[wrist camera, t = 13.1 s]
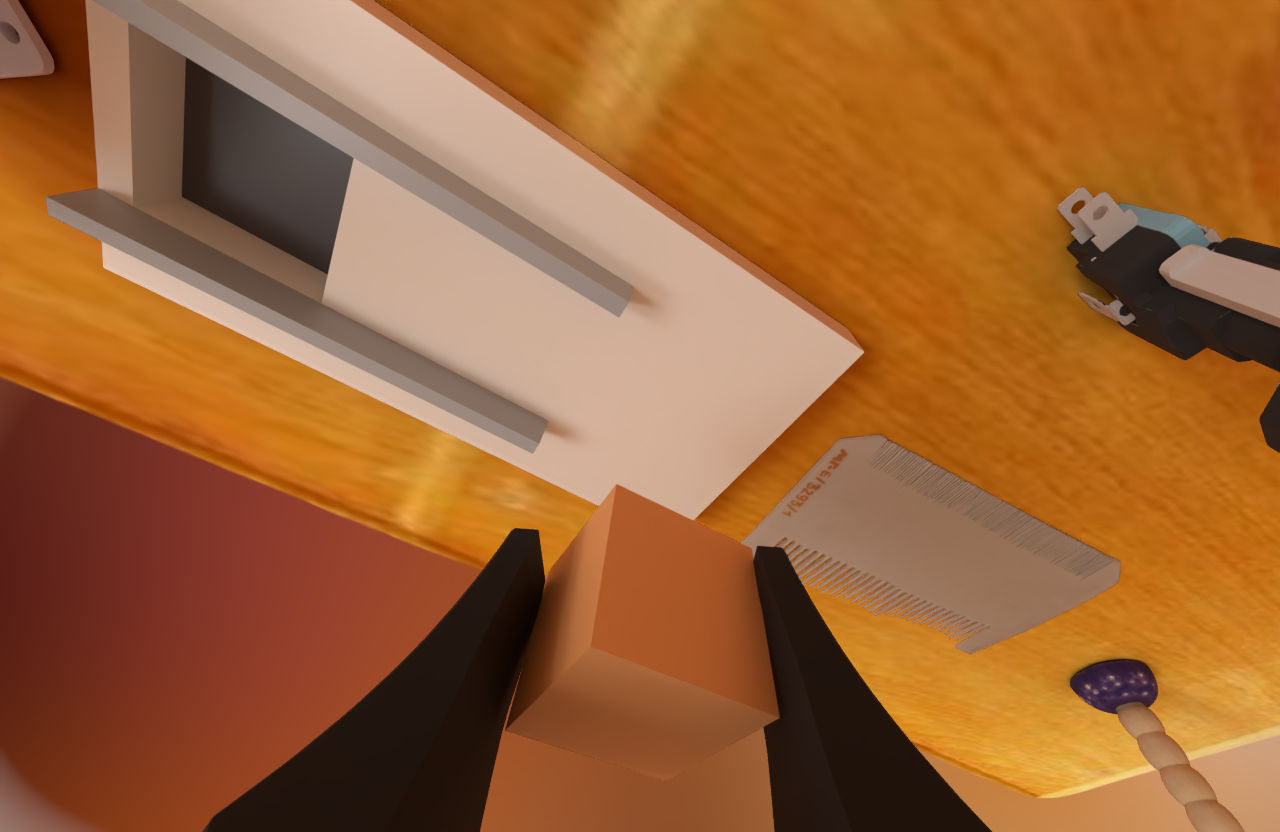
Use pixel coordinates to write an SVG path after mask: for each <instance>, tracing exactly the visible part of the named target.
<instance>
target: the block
mask: <svg viewBox="0 0 1280 832" xmlns="http://www.w3.org/2000/svg"><path fill="white" fill-rule="evenodd" d="M753 560H754V558H753V552H752V548H750V547H748V546H746V545H743V544H741V543H739V542H737V541H735V540H733V539H731V538H729V537H727V536H725V535H723V534H720V533H718V532H716V531H714V530H712V529H710V528H708V527H706V526H704V525H702V524H700V523H697V522H695V521H693V520H691V519H689V518H687V517H685V516H683V515H681V514H679V513H677V512H674V511H672V510H670V509H668V508H666V507H664V506H662V505H660V504H658V503H656V502H654V501H651V500H649V499H647V498H645V497H643V496H641V495H639V494H637V493H635V492H633V491H631V490H628V489H626V488H624V487H622V486H620V485H618V484H616V485H615V486H614V488H613V489H612V490H611V492H610V493H609V494H608V495H607V497H606V498H605V499H604V501H603V502H602V503H601V505H600V506H599V507H598V508H597V510H596V511H595V512H594V514H593V515H592V516H591V517H590V519H589V520H588V521H587V523H586V524H585V525H584V527H583V528H582V529H581V530H580V532H579V533H578V534H577V536H576V537H575V538H574V540H573V541H572V542H571V543H570V545H569V546H568V547H567V549H566V550H565V551H564V552H563V554H562V555H561V556H560V558H559V559H558V560H557V562H556V563H555V564H554V565H553V567H552V568H551V569H550V571H549V572H548V575H547V579H546V582H545V586H544V590H543V595H542V599H541V603H540V606H539V610H538V614H537V617H536V621H535V624H534V627H533V630H532V634H531V637H530V641H529V645H528V648H527V652H526V656H525V659H524V663H523V667H522V670H521V674H520V678H519V681H518V685H517V689H516V692H515V696H514V700H513V703H512V707H511V710H510V714H509V718H508V722H507V725H506V729H505V731H508V732H511V733H515V734H518V735H521V736H524V737H527V738H530V739H534V740H536V741H540V742H543V743H546V744H549V745H552V746H556V747H559V748H562V749H565V750H568V751H571V752H575V753H578V754H581V755H584V756H587V757H590V758H593V759H597V760H600V761H603V762H606V763H609V764H613V765H616V766H619V767H622V768H625V769H628V770H631V771H635V772H638V773H641V774H644V775H648V776H650V777H654V778H657V779H660V780H663V781H667V780H669V779H671V778H673V777H675V776H676V775H678V774H680V773H682V772H684V771H685V770H687V769H689V768H691V767H693V766H694V765H696V764H698V763H700V762H702V761H703V760H705V759H707V758H709V757H710V756H712V755H714V754H716V753H718V752H719V751H721V750H723V749H725V748H727V747H728V746H730V745H732V744H734V743H736V742H737V741H739V740H741V739H743V738H745V737H746V736H748V735H750V734H752V733H754V732H755V731H757V730H759V729H761V728H762V727H764V726H766V725H768V724H770V723H771V722H773V721H775V720H777V719H779V718H780V716H779V710H778V704H777V698H776V692H775V686H774V680H773V674H772V668H771V661H770V655H769V649H768V643H767V637H766V631H765V625H764V619H763V613H762V608H761V604H760V599H759V595H758V589H757V582H756V576H755V570H754V564H753Z"/></svg>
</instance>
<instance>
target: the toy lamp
mask: <svg viewBox="0 0 1280 832" xmlns="http://www.w3.org/2000/svg"><path fill="white" fill-rule="evenodd" d="M1070 686H1071V688H1072V689H1073V691H1074V692H1075V693H1076V694H1077V695H1078V696H1079V697H1080V698H1081V699H1082V700H1084V701H1085V702H1086V703H1088V704H1089V705H1091V706H1093V707H1094V708H1096V709H1098V710H1101V711H1104V712H1107V713H1113V714H1118V718H1119V720H1120V722H1121V724H1122V725H1123V727H1124V728H1125V729H1126V730H1127V732H1128V733H1129V734H1130V735H1132V736H1133V737H1134V738H1135V739H1137V741H1138V745H1139V748H1140V750H1141V752H1142V754H1143V755H1144V757H1145V758H1146V759H1147V761H1148V762H1149V763H1150V764H1151V765H1152V766H1153V767H1154V768H1156V769H1157V770H1158V771H1159V772H1160V775H1161V778H1162V781H1163V783H1164V785H1165V787H1166V788H1167V790H1168V791H1169V792H1170V794H1171V795H1172V796H1173V797H1174V798H1175V799H1176V800H1177V801H1178V802H1179V803H1181V804H1182V805H1183V806H1184V807H1185V809H1186V813H1187V816H1188V818H1189V820H1190V821H1191V823H1192V825H1193V826H1194V827H1195V829H1196V830H1197V831H1198V832H1244V830H1243V828H1242V826H1241V825H1240V823H1239V822H1238V821H1237V819H1236V818H1235V817H1234V816H1233V815H1232V813H1231V812H1229V811H1228V810H1227V809H1226V808H1225V807H1224V806H1222V805H1221V804H1219V803H1218V801H1217V798H1216V795H1215V793H1214V791H1213V789H1212V787H1211V786H1210V784H1209V783H1208V782H1207V781H1206V779H1205V778H1204V777H1203V776H1202V775H1201V774H1200V773H1199V772H1197V771H1196V770H1195V769H1193V768H1192V767H1191V766H1190V763H1189V760H1188V758H1187V756H1186V754H1185V752H1184V751H1183V750H1182V748H1181V747H1180V746H1179V745H1178V744H1177V743H1176V742H1175V741H1174V740H1173V739H1172V738H1171V737H1169V736H1168V735H1167V734H1166V733H1165V729H1164V727H1163V725H1162V723H1161V721H1160V720H1159V718H1158V717H1157V716H1156V715H1155V714H1154V713H1153V712H1152V711H1151V710H1150V709H1149V708H1148V707H1149V706H1150V705H1152V704H1153V703H1154V701H1155V700H1156V698H1157V695H1158V687H1157V682H1156V679H1155V677H1154V675H1153V673H1152V671H1151V670H1150V668H1149V667H1148V666H1147V665H1146V664H1144V663H1142V662H1139V661H1132V660H1118V661H1109V662H1104V663H1100V664H1096V665H1093V666H1091V667H1089V668H1086V669H1084V670H1082V671H1080V672H1079V673H1077V674H1076V675H1075V676H1074V677H1073V678H1072V679H1071V681H1070Z"/></svg>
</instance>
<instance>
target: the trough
mask: <svg viewBox="0 0 1280 832" xmlns="http://www.w3.org/2000/svg"><path fill="white" fill-rule="evenodd" d="M85 1H86V16H87V31H88V45H89V60H90V75H91V90H92V105H93V120H94V135H95V149H96V164H97V179H98V188H97V189H91V190H84V191H78V192H72V193H65V194H59V195H52V196H46V202H47V210H48V215H49V216H51V217H53V218H55V219H57V220H59V221H61V222H63V223H65V224H67V225H69V226H71V227H73V228H76V229H78V230H80V231H82V232H84V233H86V234H88V235H90V236H92V237H94V238H96V239H98V240H100V241H102V253H103V268H105V269H107V270H109V271H111V272H113V273H115V274H117V275H120V276H122V277H124V278H126V279H128V280H130V281H132V282H134V283H136V284H138V285H140V286H142V287H144V288H147V289H149V290H151V291H153V292H155V293H157V294H159V295H161V296H163V297H165V298H167V299H169V300H172V301H174V302H176V303H178V304H180V305H182V306H184V307H186V308H188V309H190V310H192V311H194V312H196V313H199V314H201V315H203V316H205V317H207V318H209V319H211V320H213V321H215V322H217V323H219V324H221V325H223V326H226V327H228V328H230V329H232V330H234V331H236V332H238V333H240V334H242V335H244V336H246V337H248V338H251V339H253V340H255V341H257V342H259V343H261V344H263V345H265V346H267V347H269V348H271V349H273V350H275V351H278V352H280V353H282V354H284V355H286V356H288V357H290V358H292V359H294V360H296V361H298V362H300V363H302V364H305V365H307V366H309V367H311V368H313V369H315V370H317V371H319V372H321V373H323V374H325V375H327V376H329V377H332V378H334V379H336V380H338V381H340V382H342V383H344V384H346V385H348V386H350V387H352V388H354V389H357V390H359V391H361V392H363V393H365V394H367V395H369V396H371V397H373V398H375V399H377V400H379V401H381V402H384V403H386V404H388V405H390V406H392V407H394V408H396V409H398V410H400V411H402V412H404V413H406V414H408V415H411V416H413V417H415V418H417V419H419V420H421V421H423V422H425V423H427V424H429V425H431V426H433V427H436V428H438V429H440V430H442V431H444V432H446V433H448V434H450V435H452V436H454V437H456V438H458V439H460V440H463V441H465V442H467V443H469V444H471V445H473V446H475V447H477V448H479V449H481V450H483V451H485V452H487V453H490V454H492V455H494V456H496V457H498V458H500V459H502V460H504V461H506V462H508V463H510V464H512V465H514V466H517V467H519V468H521V469H523V470H525V471H527V472H529V473H531V474H533V475H535V476H537V477H539V478H542V479H544V480H546V481H548V482H550V483H552V484H554V485H556V486H558V487H560V488H562V489H564V490H566V491H569V492H571V493H573V494H575V495H577V496H579V497H581V498H583V499H585V500H587V501H589V502H591V503H593V504H596V505H598V506H600V505H601V503H602V502H603V501H604V499H605V498H606V497H607V495H608V494H609V493H610V492H611V490H612V489H613V488H614V486H615V485H616V484H618V485H620V486H622V487H624V488H626V489H628V490H631V491H633V492H635V493H637V494H639V495H641V496H643V497H645V498H647V499H649V500H651V501H654V502H656V503H658V504H660V505H662V506H664V507H666V508H668V509H670V510H672V511H674V512H677V513H679V514H681V515H683V516H685V517H687V518H689V519H691V520H694V519H695V518H696V517H697V516H698V515H699V514H700V513H701V512H702V511H703V510H705V509H706V508H707V507H708V506H709V505H710V504H711V503H712V502H713V501H714V500H715V499H716V498H717V497H718V496H719V495H720V494H721V493H722V492H723V491H724V490H725V489H726V488H727V487H728V486H729V485H730V484H731V483H732V482H733V481H734V480H735V479H736V478H737V477H738V476H739V475H740V474H741V473H742V472H743V471H744V470H745V469H746V468H747V467H748V466H749V465H750V464H751V463H752V462H753V461H754V460H755V459H756V458H757V457H758V456H759V455H760V454H761V453H763V452H764V451H765V450H766V449H767V448H768V447H769V446H770V445H771V444H772V443H773V442H774V441H775V440H776V439H777V438H778V437H779V436H780V435H781V434H782V433H783V432H784V431H785V430H786V429H787V428H788V427H789V426H790V425H791V424H792V423H793V422H794V421H795V420H796V419H797V418H798V417H799V416H800V415H801V414H802V413H803V412H804V411H805V410H806V409H807V408H808V407H809V406H810V405H811V404H812V403H813V402H814V401H815V400H816V399H817V398H818V397H819V396H821V395H822V394H823V393H824V392H825V391H826V390H827V389H828V388H829V387H830V386H831V385H832V384H833V383H834V382H835V381H836V380H837V379H838V378H839V377H840V376H841V375H842V374H843V373H844V372H845V371H846V370H847V369H848V368H849V367H850V366H851V365H852V364H853V363H854V362H855V361H856V360H857V359H858V358H859V357H860V356H861V355H862V354H863V353H864V350H863V349H862V348H861V346H860V345H859V344H858V342H857V341H856V339H855V338H854V337H853V335H852V334H851V333H850V331H849V330H848V329H847V328H846V327H844V326H843V325H842V324H840V323H839V322H837V321H836V320H834V319H833V318H831V317H830V316H829V315H827V314H826V313H824V312H823V311H821V310H820V309H818V308H817V307H816V306H814V305H813V304H811V303H810V302H808V301H807V300H805V299H804V298H803V297H801V296H800V295H798V294H797V293H795V292H794V291H792V290H791V289H790V288H788V287H787V286H785V285H784V284H782V283H781V282H779V281H778V280H777V279H775V278H774V277H772V276H771V275H769V274H768V273H766V272H765V271H764V270H762V269H761V268H759V267H758V266H756V265H755V264H753V263H752V262H751V261H749V260H748V259H746V258H745V257H743V256H742V255H740V254H739V253H738V252H736V251H735V250H733V249H732V248H730V247H729V246H727V245H726V244H725V243H723V242H722V241H720V240H719V239H717V238H716V237H714V236H713V235H712V234H710V233H709V232H707V231H706V230H704V229H703V228H701V227H700V226H699V225H697V224H696V223H694V222H693V221H691V220H690V219H688V218H687V217H686V216H684V215H683V214H681V213H680V212H678V211H677V210H675V209H674V208H673V207H671V206H670V205H668V204H667V203H665V202H664V201H662V200H661V199H660V198H658V197H657V196H655V195H654V194H652V193H651V192H649V191H648V190H647V189H645V188H644V187H642V186H641V185H639V184H638V183H636V182H635V181H634V180H632V179H631V178H629V177H628V176H626V175H625V174H623V173H622V172H621V171H619V170H618V169H616V168H615V167H613V166H612V165H610V164H609V163H608V162H606V161H605V160H603V159H602V158H600V157H599V156H597V155H596V154H595V153H593V152H592V151H590V150H589V149H587V148H586V147H584V146H583V145H582V144H580V143H579V142H577V141H576V140H574V139H573V138H571V137H570V136H569V135H567V134H566V133H564V132H563V131H561V130H560V129H558V128H557V127H556V126H554V125H553V124H551V123H550V122H548V121H547V120H545V119H544V118H543V117H541V116H540V115H538V114H537V113H535V112H534V111H532V110H531V109H530V108H528V107H527V106H525V105H524V104H522V103H521V102H519V101H518V100H517V99H515V98H514V97H512V96H511V95H509V94H508V93H507V92H505V91H504V90H502V89H501V88H499V87H498V86H496V85H495V84H494V83H492V82H491V81H489V80H488V79H486V78H485V77H483V76H482V75H481V74H479V73H478V72H476V71H475V70H473V69H472V68H470V67H469V66H468V65H466V64H465V63H463V62H462V61H460V60H459V59H457V58H456V57H455V56H453V55H452V54H450V53H449V52H447V51H446V50H444V49H443V48H442V47H440V46H439V45H437V44H436V43H434V42H433V41H431V40H430V39H429V38H427V37H426V36H424V35H423V34H421V33H420V32H418V31H417V30H416V29H414V28H413V27H411V26H410V25H408V24H407V23H405V22H404V21H403V20H401V19H400V18H398V17H397V16H395V15H394V14H392V13H391V12H390V11H388V10H387V9H385V8H384V7H382V6H381V5H379V4H378V3H377V2H375V1H374V0H85Z"/></svg>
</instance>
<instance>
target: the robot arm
mask: <svg viewBox="0 0 1280 832" xmlns="http://www.w3.org/2000/svg"><path fill="white" fill-rule="evenodd" d="M15 30H16V31H17V32H18V34H19V37H20V38H19V37H18V35H17V34H16V31H15ZM53 71H54V60H53V58H52V56H51V54H50V52H49V51H48V49H47V47H46V46H45V44H44V42H43V41H42V39H41V37H40V36H39V34H38V32H37V31H36V29H35V27H34V26H33V24H32V22H31V21H30V19H29V17H28V16H27V14H26V12H25V11H24V9H23V7H22V6H21V4H20V2H19V1H18V0H0V79H4V78H15V77H27V76H39V75H49V74H51V73H53ZM753 564H754V570H755V576H756V582H757V589H758V595H759V599H760V604H761V608H762V613H763V619H764V625H765V631H766V637H767V643H768V649H769V655H770V661H771V668H772V674H773V680H774V686H775V692H776V698H777V704H778V710H779V716H780V718H779V719H777V720H775V721H773V722H771V723H770V724H768V725H766V726H764V733H765V739H766V747H767V754H768V764H769V774H770V785H771V795H772V806H773V818H774V830H775V832H992V831H991V830H990V829H989V828H988V827H987V826H986V825H985V824H984V823H983V821H982V820H980V818H979V817H978V816H977V815H976V814H975V813H974V812H973V811H972V810H971V809H970V808H969V807H968V806H967V805H966V803H964V801H963V800H962V799H961V798H960V797H959V796H958V795H957V794H956V793H955V791H954V790H953V789H952V788H951V787H950V786H949V785H948V783H947V782H946V781H945V780H944V779H943V778H942V777H941V776H940V774H939V773H938V772H937V771H936V770H935V769H934V768H933V767H932V765H931V764H930V763H929V762H928V761H927V760H926V759H925V757H924V756H923V755H922V754H921V753H920V752H919V751H918V749H917V748H916V747H915V746H914V745H913V743H912V742H911V741H910V740H909V739H908V737H907V736H906V735H905V734H904V732H903V731H902V730H901V729H900V727H899V726H898V725H897V724H896V723H895V721H894V720H893V719H892V718H891V716H890V715H889V714H888V712H887V711H886V710H885V709H884V707H883V706H882V705H881V703H880V702H879V701H878V699H877V698H876V697H875V695H874V694H873V693H872V691H871V690H870V689H869V687H868V686H867V685H866V683H865V682H864V680H863V679H862V678H861V676H860V675H859V673H858V672H857V671H856V669H855V668H854V666H853V665H852V663H851V662H850V660H849V659H848V657H847V656H846V655H845V653H844V652H843V650H842V649H841V647H840V646H839V644H838V642H837V641H836V639H835V638H834V636H833V635H832V633H831V631H830V630H829V628H828V627H827V625H826V623H825V622H824V620H823V619H822V617H821V615H820V614H819V612H818V610H817V609H816V607H815V605H814V604H813V602H812V600H811V599H810V597H809V595H808V593H807V591H806V590H805V588H804V586H803V584H802V583H801V581H800V579H799V577H798V575H797V573H796V571H795V569H794V568H793V566H792V564H791V562H790V560H789V558H788V556H787V554H786V552H785V550H784V549H783V548H782V547H769V546H757V548H756V552H755V556H754V560H753ZM544 585H545V575H544V567H543V560H542V552H541V545H540V538H539V530H533V529H519V528H515V529H513V530H512V531H511V532H510V533H509V535H508V536H507V538H506V539H505V541H504V542H503V543H502V545H501V546H500V548H499V549H498V550H497V552H496V553H495V554H494V556H493V557H492V559H491V560H490V561H489V563H488V564H487V565H486V566H485V568H484V569H483V570H482V572H481V573H480V574H479V576H478V577H477V578H476V580H475V581H474V582H473V583H472V584H471V585H470V587H469V588H468V589H467V590H466V592H465V593H464V594H463V595H462V597H461V598H460V599H459V600H458V601H457V603H456V604H455V605H454V606H453V607H452V608H451V610H450V611H449V612H448V613H447V614H446V615H445V616H444V618H443V619H442V620H441V621H440V622H439V623H438V624H437V625H436V627H435V628H434V629H433V630H432V631H431V632H430V633H429V634H428V635H427V636H426V638H425V639H424V640H423V641H422V642H421V643H420V644H419V645H418V646H417V647H416V648H415V649H414V650H413V651H412V652H411V653H410V654H409V655H408V656H407V657H406V658H405V659H404V660H403V661H402V662H401V663H400V664H399V665H398V666H397V667H396V668H395V669H394V670H393V671H392V672H391V673H390V674H389V675H388V676H387V677H386V678H385V679H384V680H382V681H381V682H380V683H379V684H378V685H377V686H376V687H375V688H374V689H373V690H372V691H371V692H369V693H368V694H367V695H366V696H365V697H364V698H363V699H362V700H361V701H360V702H358V703H357V704H356V705H355V706H354V707H353V708H352V709H351V710H349V711H348V712H347V713H346V714H345V715H344V716H342V717H341V718H340V719H339V720H338V721H337V722H335V723H334V724H333V725H332V726H330V727H329V728H328V729H327V730H325V731H324V732H323V733H322V734H321V735H319V736H318V737H317V738H316V739H314V740H313V741H312V742H311V743H310V744H308V745H307V746H306V747H305V748H304V749H302V750H301V751H300V752H299V753H297V754H296V755H295V756H294V757H293V758H291V759H290V760H289V761H287V762H286V763H285V764H283V765H282V766H281V767H279V768H278V769H277V770H275V771H274V772H273V773H271V774H270V775H269V776H267V777H266V778H265V779H263V780H262V781H261V782H259V783H258V784H257V785H255V786H254V787H253V788H251V789H250V790H248V791H247V792H246V793H244V794H243V795H242V796H240V797H239V798H238V799H236V800H235V801H234V802H232V803H231V804H230V805H228V806H227V807H226V808H224V809H223V810H221V811H220V812H219V813H217V814H216V815H215V816H214V817H213V818H212V819H211V821H210V822H209V824H208V825H207V826H206V828H205V829H204V830H203V832H480V828H481V823H482V819H483V814H484V810H485V805H486V800H487V796H488V791H489V787H490V782H491V777H492V773H493V769H494V764H495V760H496V756H497V752H498V747H499V743H500V739H501V734H502V730H503V727H504V723H505V720H506V716H507V713H508V709H509V706H510V703H511V700H512V697H513V694H514V691H515V688H516V684H517V681H518V679H519V675H520V672H521V669H522V666H523V663H524V659H525V656H526V652H527V648H528V645H529V641H530V637H531V634H532V630H533V627H534V624H535V621H536V617H537V614H538V610H539V606H540V603H541V599H542V595H543V590H544Z"/></svg>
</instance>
